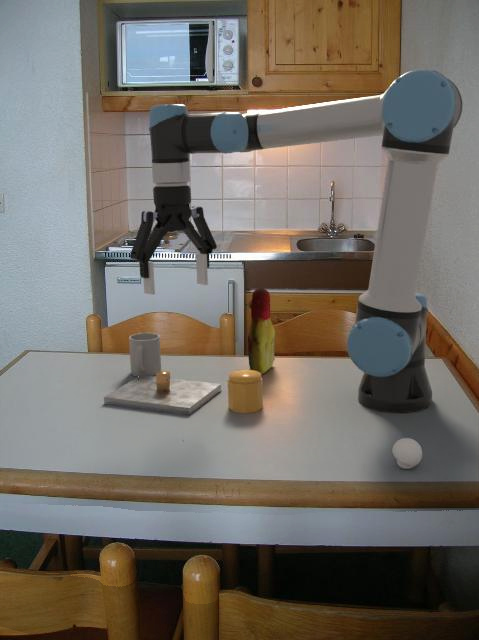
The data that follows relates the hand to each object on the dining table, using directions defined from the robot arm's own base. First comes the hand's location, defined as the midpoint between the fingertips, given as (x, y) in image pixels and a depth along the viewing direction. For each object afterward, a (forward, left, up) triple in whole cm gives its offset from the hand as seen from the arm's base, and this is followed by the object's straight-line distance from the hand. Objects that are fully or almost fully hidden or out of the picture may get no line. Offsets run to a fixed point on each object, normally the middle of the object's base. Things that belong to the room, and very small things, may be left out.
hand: (176, 288), depth 153 cm
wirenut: (-15, +1, -24) cm, 28 cm away
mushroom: (-51, +19, -24) cm, 59 cm away
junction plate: (+4, +1, -24) cm, 24 cm away
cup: (+16, -12, -24) cm, 31 cm away
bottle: (-9, -24, -24) cm, 36 cm away
